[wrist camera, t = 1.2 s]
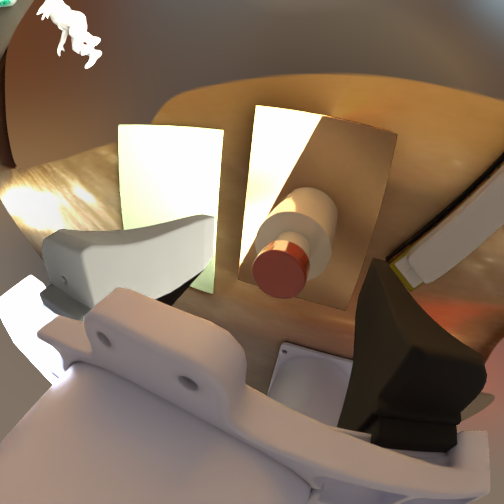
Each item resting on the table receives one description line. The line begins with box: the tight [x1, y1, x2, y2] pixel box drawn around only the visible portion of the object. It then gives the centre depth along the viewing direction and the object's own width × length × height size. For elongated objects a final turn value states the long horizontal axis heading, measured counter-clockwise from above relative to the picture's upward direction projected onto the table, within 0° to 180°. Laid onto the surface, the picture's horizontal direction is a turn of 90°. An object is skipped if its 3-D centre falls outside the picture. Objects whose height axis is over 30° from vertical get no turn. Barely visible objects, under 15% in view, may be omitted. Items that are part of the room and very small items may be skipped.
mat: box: [118, 125, 223, 294], centre depth 23 cm, size 14×10×1 cm
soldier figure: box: [37, 0, 102, 69], centre depth 15 cm, size 8×5×12 cm
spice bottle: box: [252, 187, 338, 299], centre depth 14 cm, size 4×4×7 cm
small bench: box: [238, 106, 397, 311], centre depth 18 cm, size 12×8×2 cm, turn 174°
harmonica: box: [386, 153, 504, 292], centre depth 14 cm, size 15×3×2 cm, turn 141°
